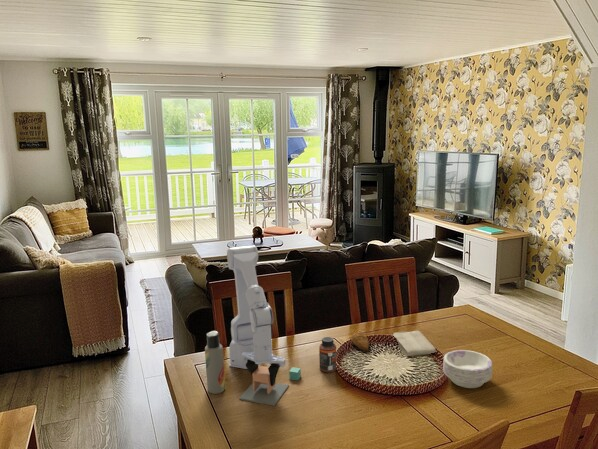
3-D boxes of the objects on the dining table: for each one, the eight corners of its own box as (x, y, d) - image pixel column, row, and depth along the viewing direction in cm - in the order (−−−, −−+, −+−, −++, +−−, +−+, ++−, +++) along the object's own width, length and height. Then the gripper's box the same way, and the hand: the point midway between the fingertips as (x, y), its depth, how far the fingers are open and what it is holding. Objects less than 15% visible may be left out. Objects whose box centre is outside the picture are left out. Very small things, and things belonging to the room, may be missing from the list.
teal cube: (289, 379, 165) (289, 371, 164) (292, 375, 168) (292, 367, 167) (297, 380, 164) (297, 372, 163) (300, 376, 167) (300, 368, 166)
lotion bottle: (228, 386, 161) (224, 330, 157) (220, 395, 156) (216, 337, 152) (212, 383, 163) (209, 328, 159) (204, 392, 158) (200, 335, 154)
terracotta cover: (253, 390, 155) (252, 373, 154) (260, 382, 160) (259, 365, 159) (268, 393, 153) (268, 376, 152) (275, 385, 158) (275, 368, 157)
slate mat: (239, 399, 153) (239, 398, 153) (255, 380, 164) (255, 379, 164) (274, 406, 149) (274, 404, 149) (288, 386, 160) (288, 385, 160)
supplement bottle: (335, 374, 168) (335, 343, 165) (318, 372, 169) (317, 342, 166) (337, 365, 173) (337, 336, 171) (321, 364, 174) (320, 335, 172)
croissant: (345, 339, 195) (345, 327, 194) (361, 336, 196) (361, 325, 195) (357, 354, 182) (357, 341, 181) (374, 351, 184) (374, 339, 183)
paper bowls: (456, 365, 171) (457, 344, 170) (499, 380, 161) (500, 358, 159) (434, 381, 161) (434, 359, 159) (478, 399, 150) (479, 375, 149)
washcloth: (418, 335, 198) (418, 327, 197) (437, 355, 180) (437, 347, 180) (390, 337, 196) (390, 330, 195) (407, 358, 178) (407, 350, 178)
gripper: (236, 346, 152) (238, 385, 155) (278, 352, 147) (280, 393, 150) (246, 336, 159) (248, 375, 162) (287, 342, 154) (288, 381, 157)
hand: (264, 383), depth 156 cm, fingers closed on terracotta cover, 5 cm apart
